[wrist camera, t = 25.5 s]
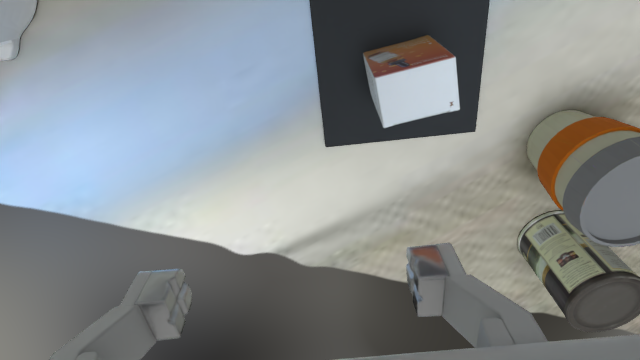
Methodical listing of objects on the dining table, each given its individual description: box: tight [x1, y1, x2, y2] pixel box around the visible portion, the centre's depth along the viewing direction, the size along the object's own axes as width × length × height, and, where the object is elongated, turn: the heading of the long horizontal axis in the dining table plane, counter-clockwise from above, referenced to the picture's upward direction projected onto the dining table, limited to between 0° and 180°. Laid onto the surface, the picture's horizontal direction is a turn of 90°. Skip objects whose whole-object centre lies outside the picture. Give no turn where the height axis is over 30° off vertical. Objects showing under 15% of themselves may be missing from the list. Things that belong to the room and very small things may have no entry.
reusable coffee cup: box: [527, 110, 640, 247], centre depth 46 cm, size 13×13×15 cm
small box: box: [363, 35, 460, 128], centre depth 42 cm, size 8×6×10 cm
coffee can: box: [517, 211, 640, 332], centre depth 55 cm, size 10×10×14 cm
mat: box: [310, 0, 489, 147], centre depth 47 cm, size 20×20×1 cm
